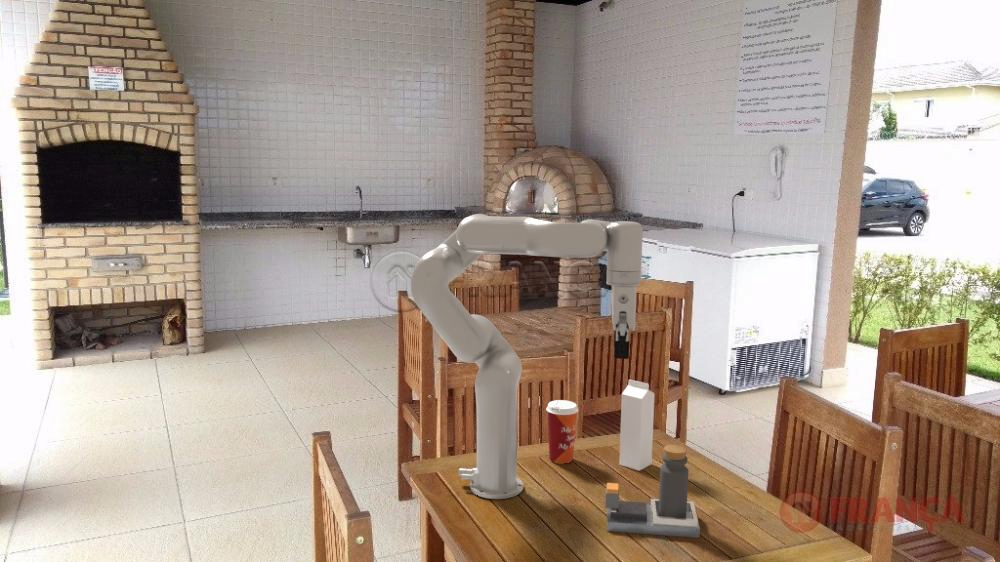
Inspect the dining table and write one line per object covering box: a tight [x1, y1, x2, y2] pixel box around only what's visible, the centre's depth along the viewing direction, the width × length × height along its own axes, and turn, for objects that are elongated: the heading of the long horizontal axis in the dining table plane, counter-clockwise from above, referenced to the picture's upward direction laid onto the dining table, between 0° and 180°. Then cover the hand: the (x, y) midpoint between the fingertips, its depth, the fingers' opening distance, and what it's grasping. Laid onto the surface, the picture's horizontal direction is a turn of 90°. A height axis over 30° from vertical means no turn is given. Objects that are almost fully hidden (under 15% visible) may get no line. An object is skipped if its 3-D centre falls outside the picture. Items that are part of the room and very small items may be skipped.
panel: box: [606, 498, 701, 539], centre depth 165 cm, size 19×10×4 cm, turn 82°
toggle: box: [605, 482, 620, 509], centre depth 166 cm, size 3×4×4 cm
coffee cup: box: [545, 399, 579, 463], centre depth 198 cm, size 8×8×15 cm
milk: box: [619, 378, 655, 471], centre depth 195 cm, size 6×6×22 cm
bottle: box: [658, 444, 690, 518], centre depth 163 cm, size 6×6×15 cm
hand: (621, 352), depth 173 cm, fingers open, 9 cm apart
